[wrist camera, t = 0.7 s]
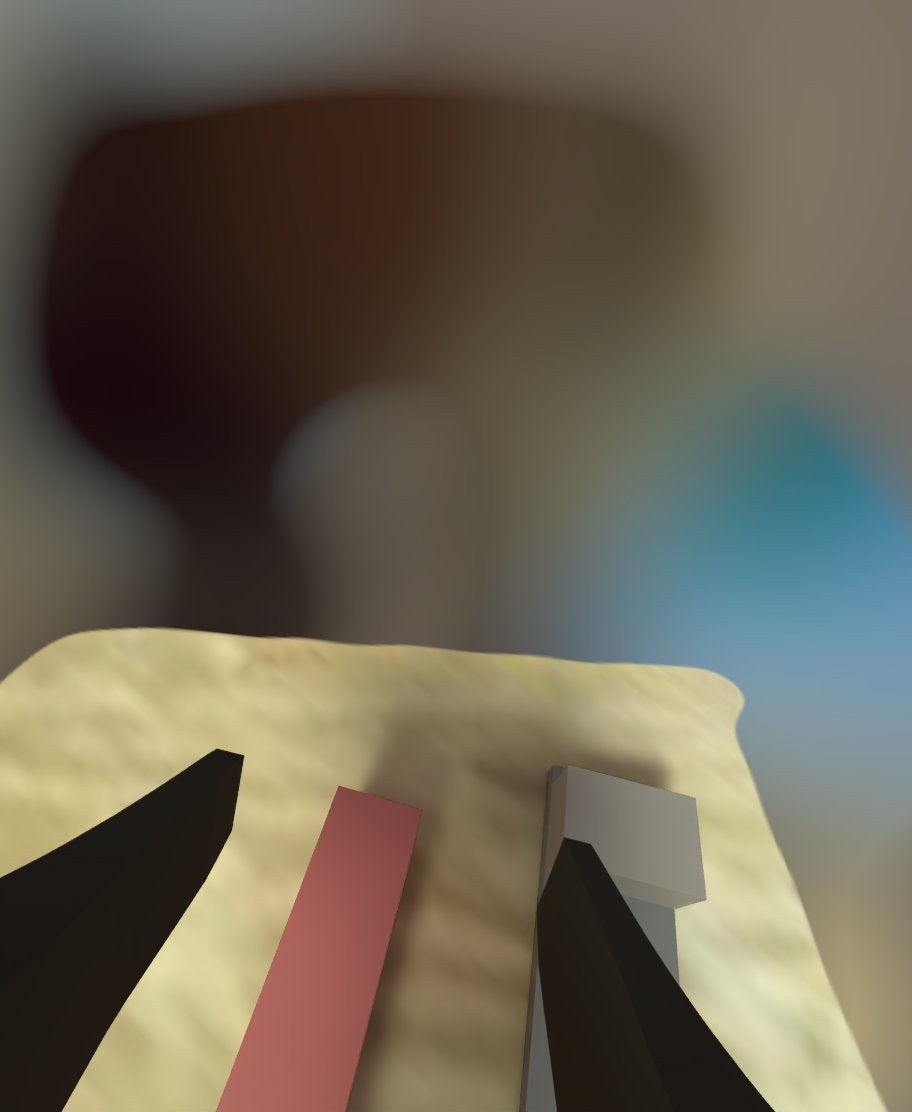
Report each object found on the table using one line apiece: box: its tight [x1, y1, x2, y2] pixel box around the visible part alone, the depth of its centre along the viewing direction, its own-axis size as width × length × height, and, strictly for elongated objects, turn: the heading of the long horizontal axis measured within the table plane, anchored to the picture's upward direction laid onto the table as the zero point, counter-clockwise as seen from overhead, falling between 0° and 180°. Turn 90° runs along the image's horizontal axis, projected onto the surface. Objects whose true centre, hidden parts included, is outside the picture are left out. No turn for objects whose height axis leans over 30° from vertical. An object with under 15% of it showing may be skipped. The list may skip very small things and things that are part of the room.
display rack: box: [519, 765, 707, 1112], centre depth 18 cm, size 20×6×4 cm, turn 168°
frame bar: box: [216, 786, 422, 1112], centre depth 17 cm, size 16×4×6 cm, turn 167°
